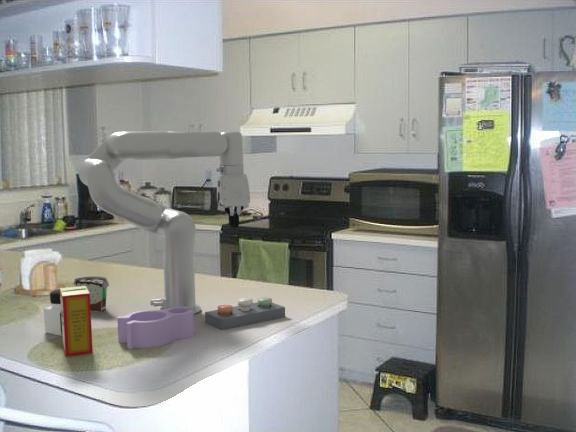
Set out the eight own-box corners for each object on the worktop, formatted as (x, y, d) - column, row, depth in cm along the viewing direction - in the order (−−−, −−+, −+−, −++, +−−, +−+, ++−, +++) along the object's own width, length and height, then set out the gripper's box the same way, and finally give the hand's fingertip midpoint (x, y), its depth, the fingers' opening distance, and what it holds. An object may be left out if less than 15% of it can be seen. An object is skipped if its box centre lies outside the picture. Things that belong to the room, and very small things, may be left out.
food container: (118, 308, 212) (116, 277, 211) (105, 313, 207) (104, 281, 205) (88, 304, 217) (86, 274, 216) (75, 309, 212) (73, 278, 211)
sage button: (263, 316, 199) (262, 301, 198) (255, 313, 203) (254, 299, 202) (275, 314, 202) (274, 299, 201) (266, 311, 205) (266, 296, 205)
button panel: (222, 329, 188) (222, 319, 187) (205, 322, 196) (204, 312, 195) (285, 316, 200) (285, 307, 200) (266, 309, 208) (266, 300, 208)
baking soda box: (92, 353, 169) (89, 291, 167) (65, 356, 166) (62, 294, 164) (88, 342, 177) (85, 284, 175) (62, 345, 175) (59, 286, 173)
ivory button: (243, 317, 195) (242, 302, 194) (235, 314, 198) (235, 299, 198) (255, 314, 197) (255, 300, 197) (247, 311, 201) (247, 297, 200)
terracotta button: (222, 324, 191) (222, 309, 190) (215, 321, 194) (214, 306, 194) (235, 322, 193) (235, 307, 193) (228, 318, 197) (227, 304, 196)
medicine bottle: (61, 336, 183) (59, 294, 181) (44, 332, 187) (42, 291, 185) (81, 330, 189) (79, 289, 187) (65, 326, 193) (63, 286, 191)
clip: (181, 327, 191) (180, 303, 190) (201, 337, 181) (200, 313, 180) (114, 340, 180) (113, 315, 179) (132, 352, 170) (130, 326, 169)
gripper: (215, 172, 204) (218, 231, 207) (258, 169, 212) (260, 226, 214) (205, 171, 211) (208, 228, 213) (246, 168, 218) (248, 223, 221)
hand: (234, 227), depth 214 cm, fingers closed
